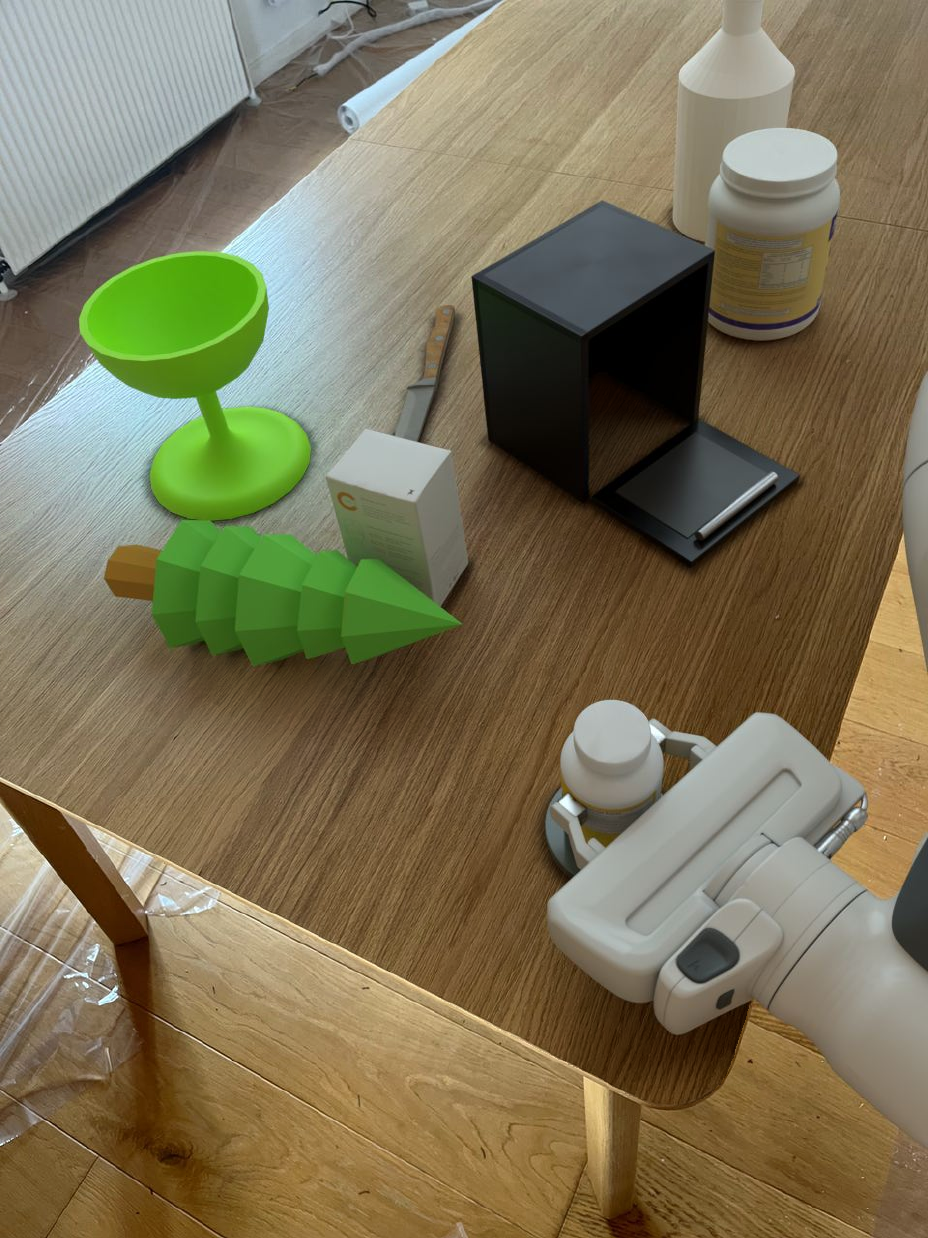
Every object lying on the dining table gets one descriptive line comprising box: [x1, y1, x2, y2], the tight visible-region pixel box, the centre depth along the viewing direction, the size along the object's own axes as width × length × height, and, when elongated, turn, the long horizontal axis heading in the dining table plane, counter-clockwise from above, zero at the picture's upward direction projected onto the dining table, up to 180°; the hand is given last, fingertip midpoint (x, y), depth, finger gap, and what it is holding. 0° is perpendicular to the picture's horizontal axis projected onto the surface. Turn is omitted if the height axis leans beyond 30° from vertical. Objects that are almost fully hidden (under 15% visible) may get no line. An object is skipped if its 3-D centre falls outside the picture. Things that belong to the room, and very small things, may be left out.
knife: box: [394, 304, 456, 443], centre depth 103 cm, size 31×1×3 cm
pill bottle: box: [559, 699, 665, 848], centre depth 66 cm, size 6×6×12 cm
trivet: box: [544, 786, 664, 880], centre depth 71 cm, size 9×9×1 cm
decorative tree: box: [103, 519, 463, 667], centre depth 81 cm, size 11×12×30 cm
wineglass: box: [78, 250, 312, 522], centre depth 93 cm, size 16×16×18 cm
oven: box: [471, 199, 801, 569], centre depth 88 cm, size 25×16×18 cm, turn 41°
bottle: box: [672, 0, 796, 243], centre depth 110 cm, size 12×12×25 cm
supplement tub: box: [704, 127, 841, 341], centre depth 101 cm, size 12×12×17 cm
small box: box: [325, 428, 469, 608], centre depth 83 cm, size 8×6×13 cm
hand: (601, 766), depth 66 cm, fingers closed on pill bottle, 6 cm apart
